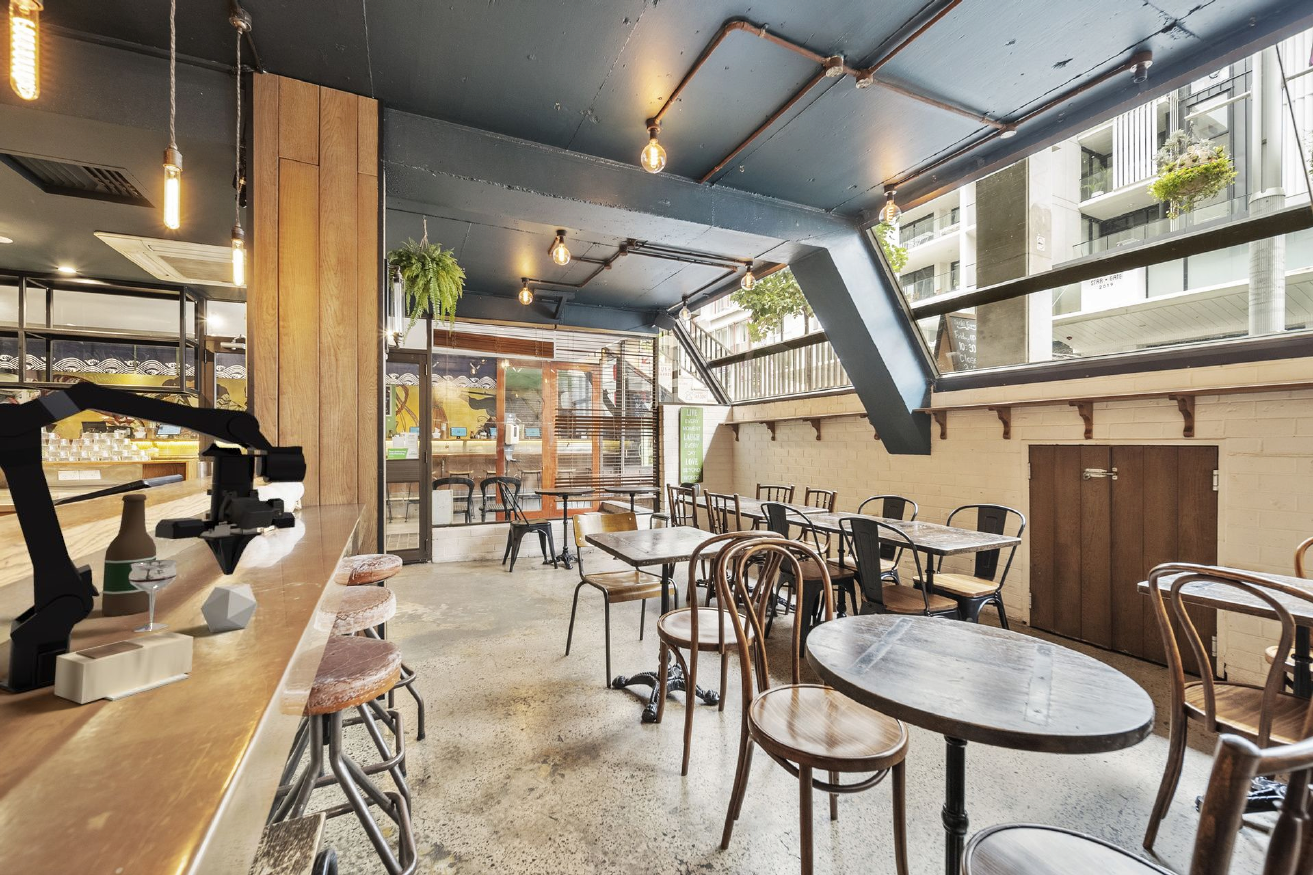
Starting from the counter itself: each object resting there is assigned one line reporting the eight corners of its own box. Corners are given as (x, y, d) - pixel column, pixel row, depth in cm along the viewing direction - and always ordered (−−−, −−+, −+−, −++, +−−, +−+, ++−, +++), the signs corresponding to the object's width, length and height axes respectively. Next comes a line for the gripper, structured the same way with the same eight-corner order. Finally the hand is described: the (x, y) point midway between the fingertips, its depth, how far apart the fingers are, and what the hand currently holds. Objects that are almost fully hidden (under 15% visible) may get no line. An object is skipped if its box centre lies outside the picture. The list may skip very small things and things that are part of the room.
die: (261, 622, 108) (232, 583, 108) (275, 607, 103) (245, 566, 103) (215, 648, 101) (184, 607, 101) (227, 634, 96) (195, 590, 96)
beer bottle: (148, 604, 117) (154, 492, 118) (158, 610, 112) (164, 494, 113) (97, 612, 111) (104, 494, 112) (105, 619, 106) (112, 496, 107)
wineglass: (182, 621, 106) (185, 558, 106) (163, 631, 99) (166, 565, 100) (138, 623, 103) (142, 560, 104) (116, 634, 97) (120, 567, 98)
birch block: (164, 663, 83) (54, 694, 72) (166, 629, 83) (56, 654, 72) (191, 670, 81) (81, 703, 69) (193, 635, 81) (84, 662, 70)
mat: (73, 687, 75) (74, 685, 75) (150, 666, 83) (150, 664, 83) (112, 700, 71) (112, 698, 71) (189, 677, 79) (189, 675, 79)
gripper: (196, 486, 82) (190, 591, 81) (316, 483, 99) (312, 569, 98) (156, 484, 86) (150, 583, 86) (278, 481, 103) (274, 564, 103)
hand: (228, 574), depth 93 cm, fingers closed
